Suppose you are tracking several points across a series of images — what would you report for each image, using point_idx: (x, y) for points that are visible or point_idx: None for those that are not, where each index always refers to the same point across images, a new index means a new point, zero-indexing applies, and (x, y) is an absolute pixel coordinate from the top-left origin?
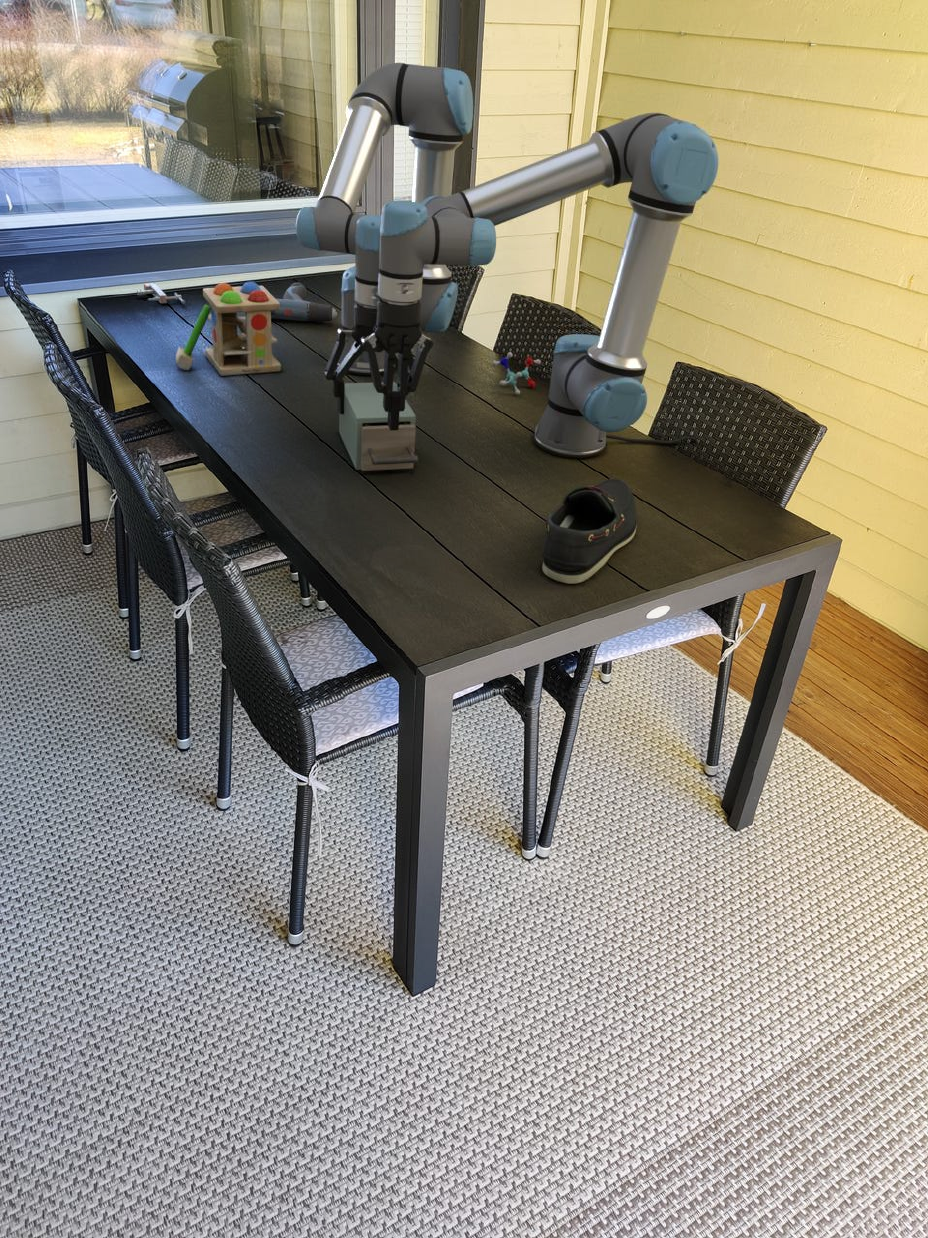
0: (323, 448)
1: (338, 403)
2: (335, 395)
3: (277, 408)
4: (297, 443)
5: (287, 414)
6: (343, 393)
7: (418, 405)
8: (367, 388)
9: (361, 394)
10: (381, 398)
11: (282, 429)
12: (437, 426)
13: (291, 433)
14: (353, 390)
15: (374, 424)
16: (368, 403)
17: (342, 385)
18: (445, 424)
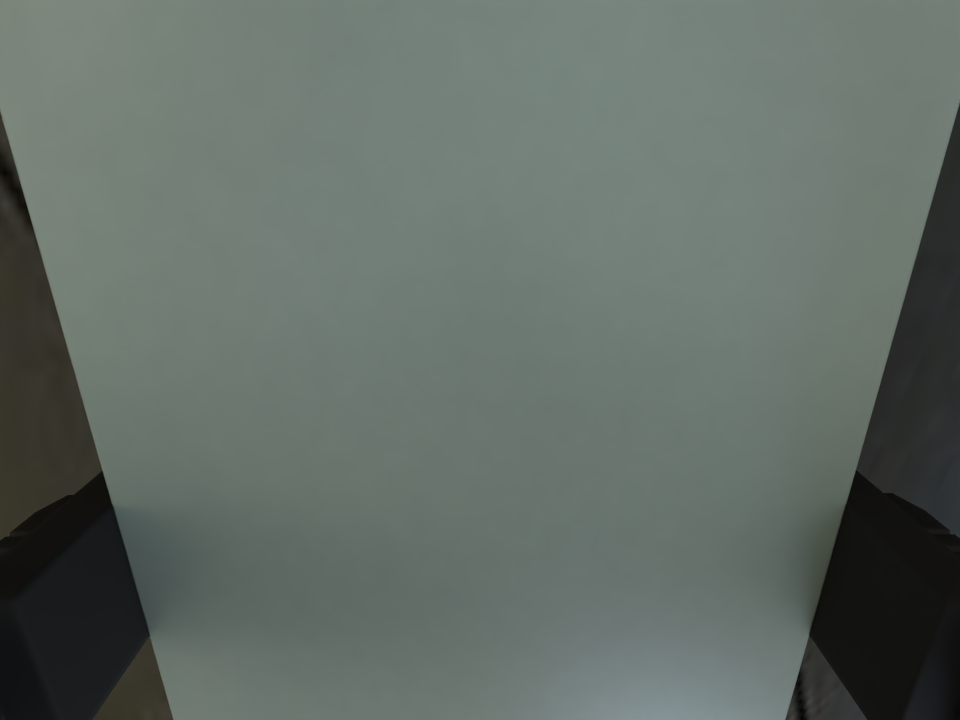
0: None
1: None
2: (905, 506)
3: (836, 705)
4: (914, 331)
5: (817, 650)
6: (850, 497)
7: (157, 690)
8: (518, 595)
9: (649, 434)
10: (402, 279)
11: (914, 504)
12: (60, 469)
13: (889, 456)
14: (706, 555)
15: None
16: (657, 83)
17: (950, 573)
18: (13, 488)
